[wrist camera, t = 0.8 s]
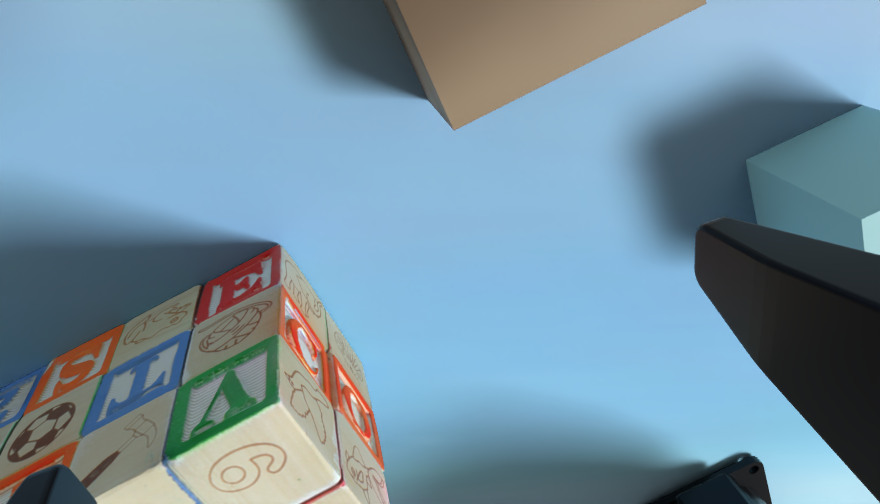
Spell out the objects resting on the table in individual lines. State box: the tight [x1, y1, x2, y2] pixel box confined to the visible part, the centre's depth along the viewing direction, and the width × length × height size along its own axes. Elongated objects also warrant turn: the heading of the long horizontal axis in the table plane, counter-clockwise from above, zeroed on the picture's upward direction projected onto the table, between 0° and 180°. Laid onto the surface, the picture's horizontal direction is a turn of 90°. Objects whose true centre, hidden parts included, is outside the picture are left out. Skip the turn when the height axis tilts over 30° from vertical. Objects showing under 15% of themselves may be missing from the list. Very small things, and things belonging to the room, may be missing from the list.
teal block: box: [745, 105, 880, 255], centre depth 25 cm, size 5×5×6 cm
